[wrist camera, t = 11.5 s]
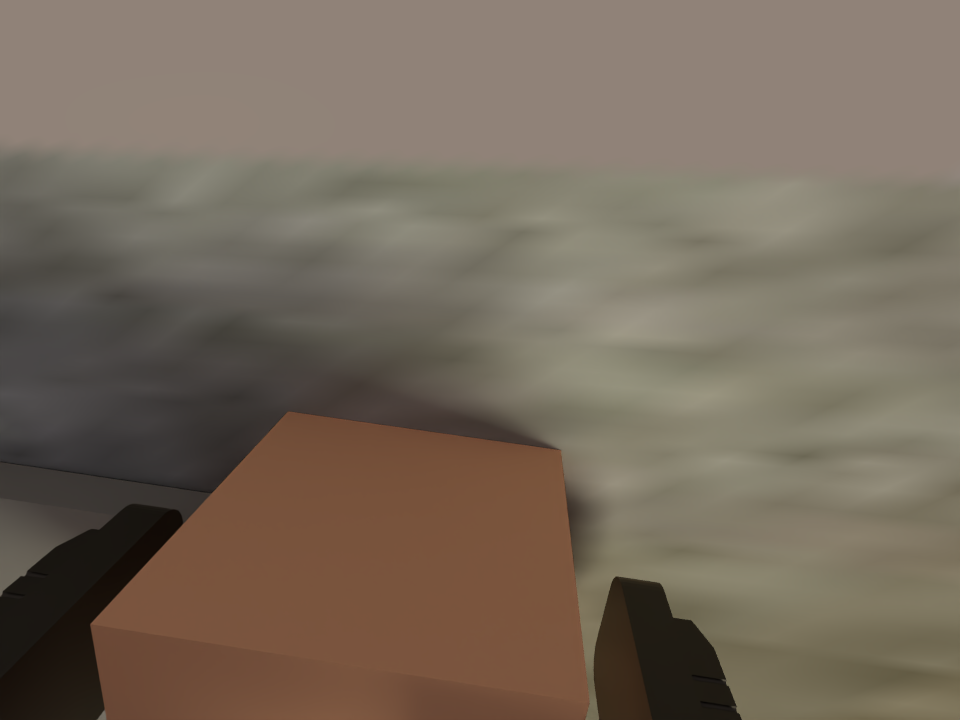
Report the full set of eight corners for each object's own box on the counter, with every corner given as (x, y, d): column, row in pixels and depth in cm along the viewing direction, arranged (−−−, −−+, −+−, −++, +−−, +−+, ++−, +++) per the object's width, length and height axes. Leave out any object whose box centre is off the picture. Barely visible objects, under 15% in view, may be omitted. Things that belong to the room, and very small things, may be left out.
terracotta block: (560, 447, 10) (590, 703, 5) (520, 653, 12) (517, 979, 7) (290, 409, 10) (90, 624, 6) (290, 618, 12) (140, 913, 7)
